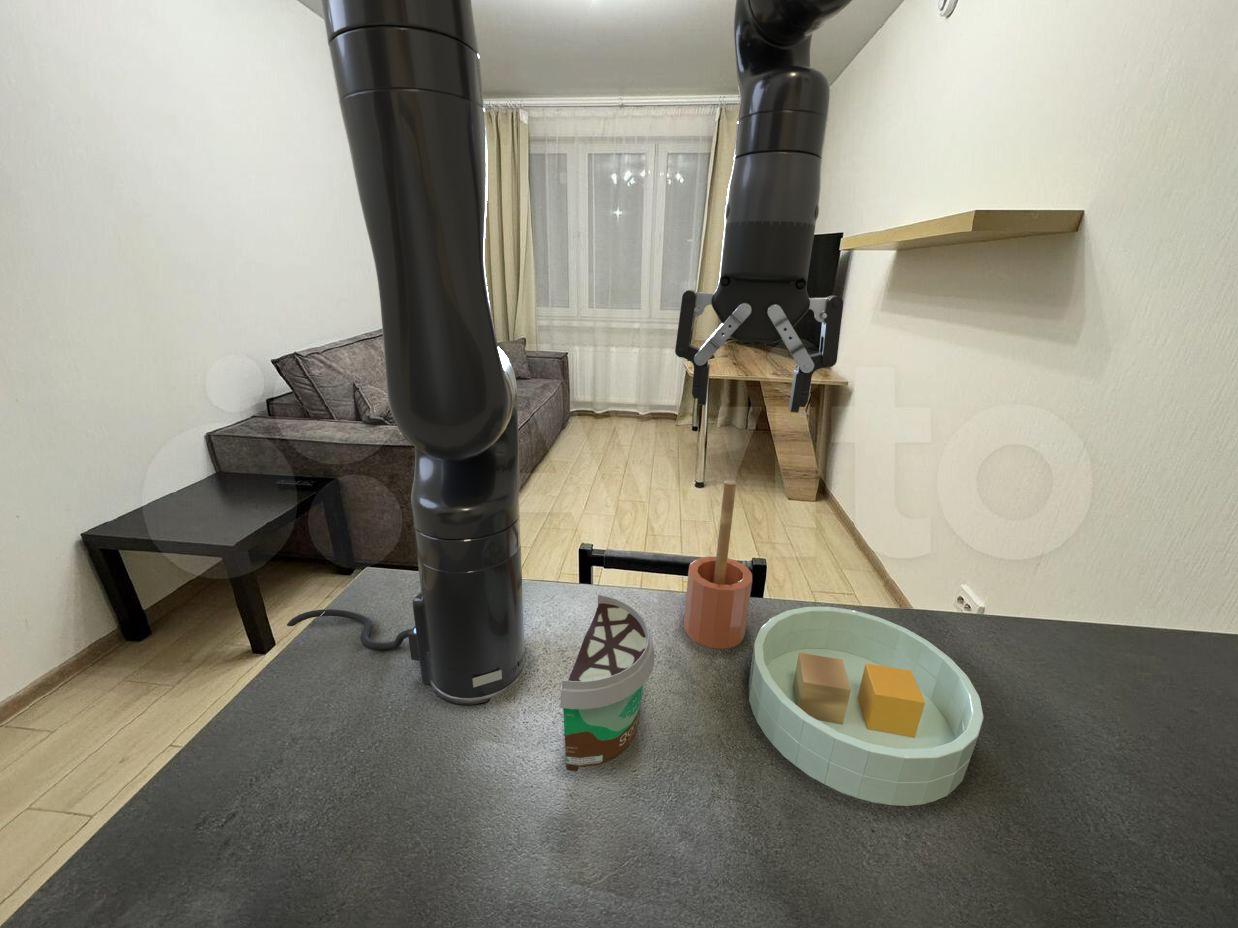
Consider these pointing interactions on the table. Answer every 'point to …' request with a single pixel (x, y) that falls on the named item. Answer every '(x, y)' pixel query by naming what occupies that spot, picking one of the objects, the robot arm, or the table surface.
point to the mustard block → (890, 700)
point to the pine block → (821, 687)
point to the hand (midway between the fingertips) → (746, 407)
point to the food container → (606, 685)
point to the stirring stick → (724, 531)
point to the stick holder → (717, 604)
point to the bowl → (851, 750)
